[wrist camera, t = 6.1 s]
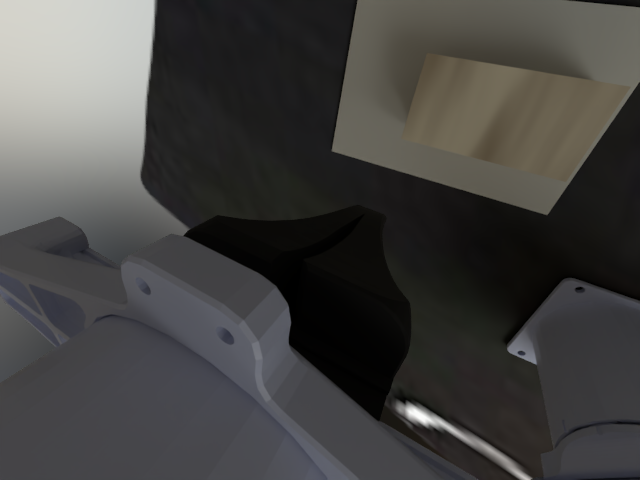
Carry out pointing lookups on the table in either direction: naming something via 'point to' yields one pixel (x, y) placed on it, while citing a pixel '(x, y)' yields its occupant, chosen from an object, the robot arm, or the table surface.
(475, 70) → the birch block
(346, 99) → the felt mat
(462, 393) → the table surface
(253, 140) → the table surface
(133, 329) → the robot arm
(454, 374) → the table surface
